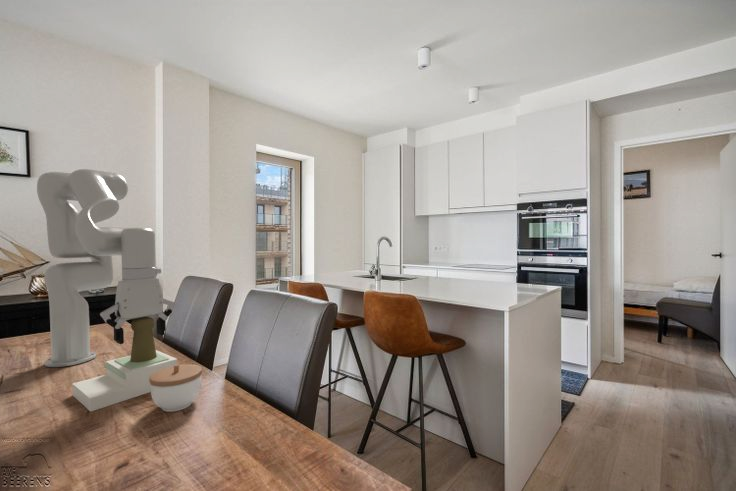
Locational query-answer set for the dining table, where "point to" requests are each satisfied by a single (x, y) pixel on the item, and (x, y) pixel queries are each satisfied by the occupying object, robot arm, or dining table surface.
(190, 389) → the lidded jar
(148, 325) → the cork
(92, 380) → the platform
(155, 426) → the dining table surface
